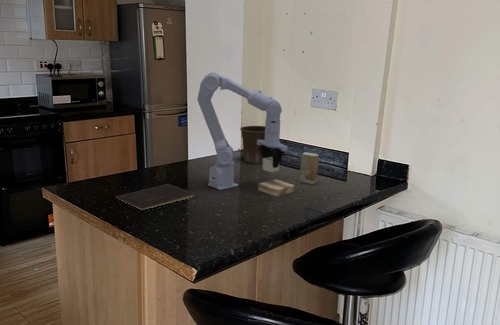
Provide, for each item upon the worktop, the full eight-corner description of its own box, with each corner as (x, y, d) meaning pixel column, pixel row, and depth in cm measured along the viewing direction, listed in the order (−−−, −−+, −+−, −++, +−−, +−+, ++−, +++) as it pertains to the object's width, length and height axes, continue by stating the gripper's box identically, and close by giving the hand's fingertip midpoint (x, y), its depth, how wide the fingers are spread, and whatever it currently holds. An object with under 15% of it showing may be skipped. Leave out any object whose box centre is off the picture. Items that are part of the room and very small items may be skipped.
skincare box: (298, 182, 185) (300, 153, 182) (302, 179, 189) (304, 151, 186) (313, 184, 183) (315, 155, 180) (317, 182, 186) (319, 153, 183)
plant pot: (244, 165, 208) (245, 131, 204) (235, 157, 224) (236, 125, 220) (277, 164, 213) (278, 131, 209) (266, 156, 228) (268, 125, 224)
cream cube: (270, 172, 173) (271, 160, 172) (262, 169, 176) (262, 158, 175) (279, 170, 176) (279, 158, 175) (270, 167, 179) (271, 156, 178)
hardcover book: (195, 199, 162) (195, 193, 162) (141, 214, 146) (141, 207, 145) (168, 189, 172) (167, 183, 172) (115, 202, 156) (114, 196, 155)
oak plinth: (276, 197, 167) (276, 190, 166) (258, 190, 174) (258, 183, 173) (294, 192, 173) (294, 185, 172) (276, 186, 180) (276, 179, 180)
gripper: (293, 133, 170) (291, 168, 173) (266, 128, 180) (264, 160, 183) (280, 135, 165) (279, 171, 168) (253, 129, 175) (252, 163, 179)
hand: (270, 165), depth 175 cm, fingers closed on cream cube, 5 cm apart
